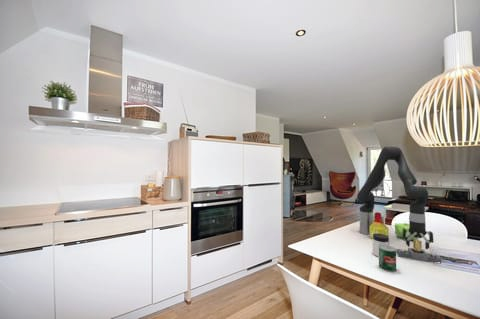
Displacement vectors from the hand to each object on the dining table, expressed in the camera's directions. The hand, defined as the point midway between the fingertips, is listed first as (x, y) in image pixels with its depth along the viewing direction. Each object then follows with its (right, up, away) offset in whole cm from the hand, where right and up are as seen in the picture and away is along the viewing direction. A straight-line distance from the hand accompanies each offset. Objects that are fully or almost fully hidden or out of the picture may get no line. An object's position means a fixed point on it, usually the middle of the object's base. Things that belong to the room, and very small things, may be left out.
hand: (417, 247), depth 128 cm
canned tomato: (-26, -7, -11) cm, 29 cm away
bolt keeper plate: (0, -6, 0) cm, 6 cm away
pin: (0, -6, 0) cm, 6 cm away
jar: (-19, -7, +4) cm, 21 cm away
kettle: (+17, -6, +31) cm, 36 cm away
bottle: (-4, -6, +29) cm, 30 cm away
